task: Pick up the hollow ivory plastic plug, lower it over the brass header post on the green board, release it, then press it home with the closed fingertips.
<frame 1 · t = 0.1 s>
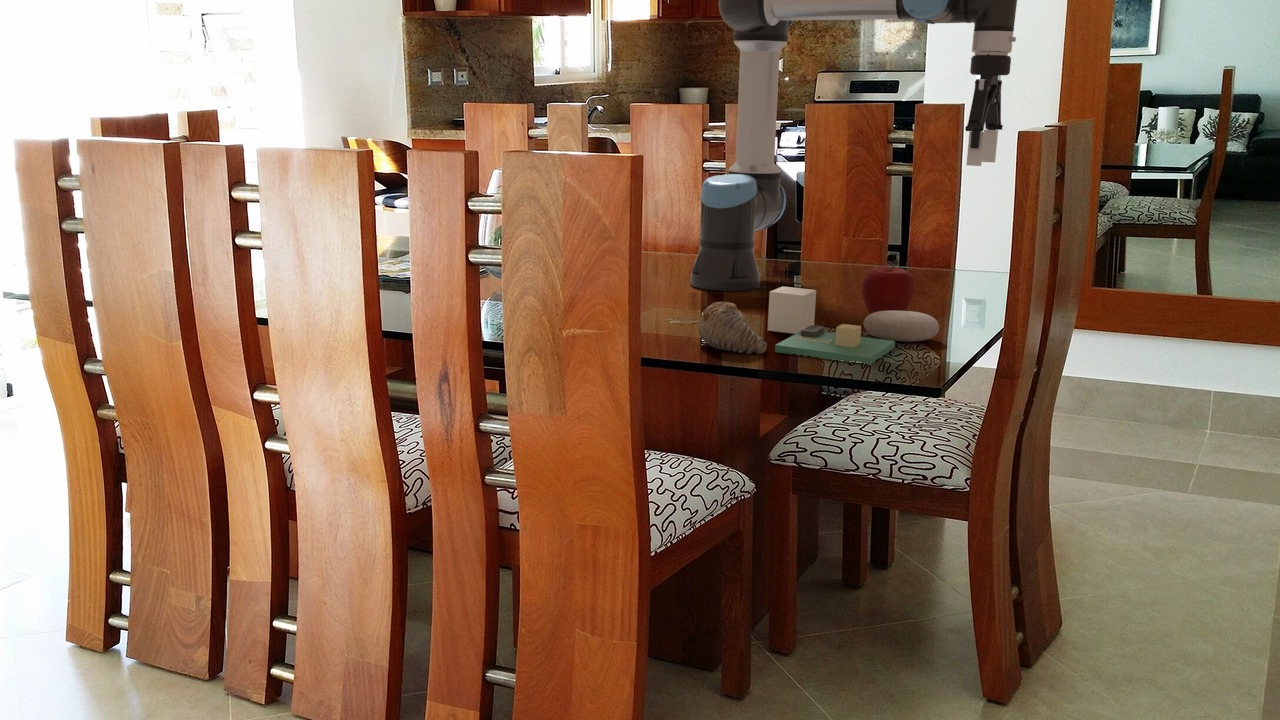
hand: (981, 164, 223), 28 cm above the table, fingers open, 13 cm apart
seashell: (732, 347, 186), on the table
plug: (790, 329, 199), on the table
apple: (885, 318, 211), on the table
decorative stone: (899, 341, 193), on the table
board: (835, 349, 184), on the table
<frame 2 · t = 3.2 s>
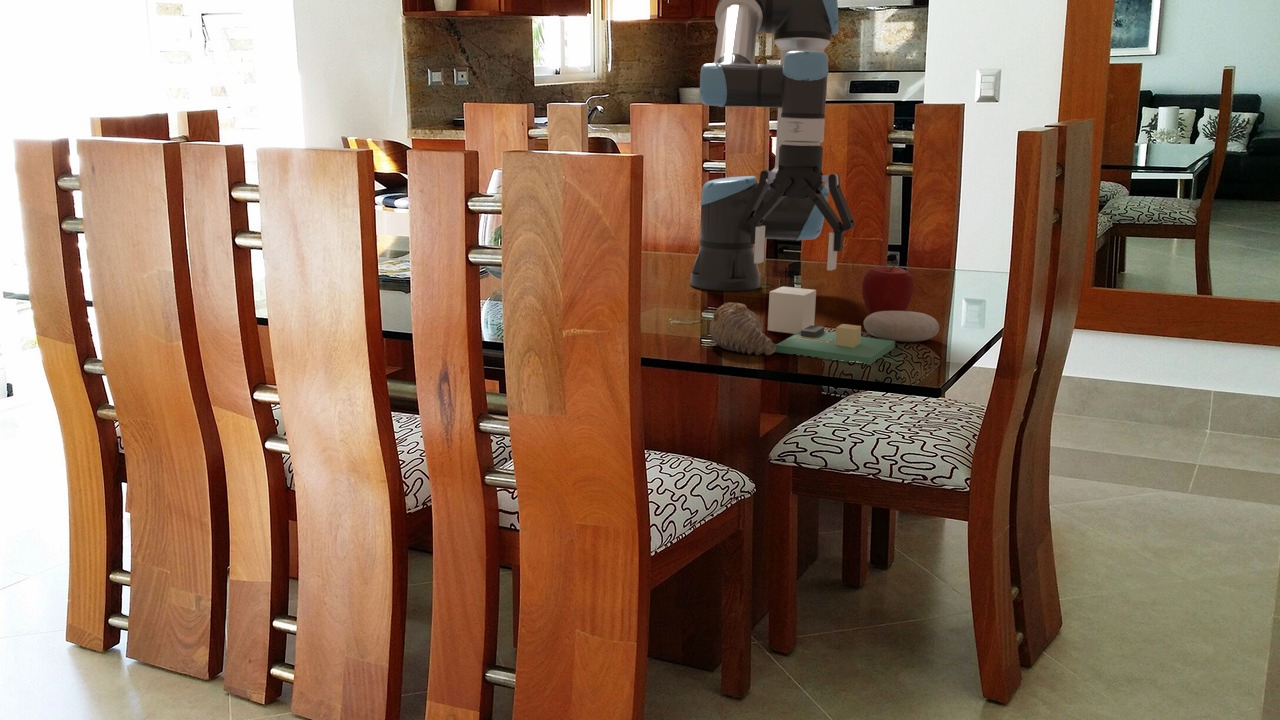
hand: (794, 266, 196), 11 cm above the table, fingers open, 13 cm apart
seashell: (743, 348, 185), on the table
everything else where it was.
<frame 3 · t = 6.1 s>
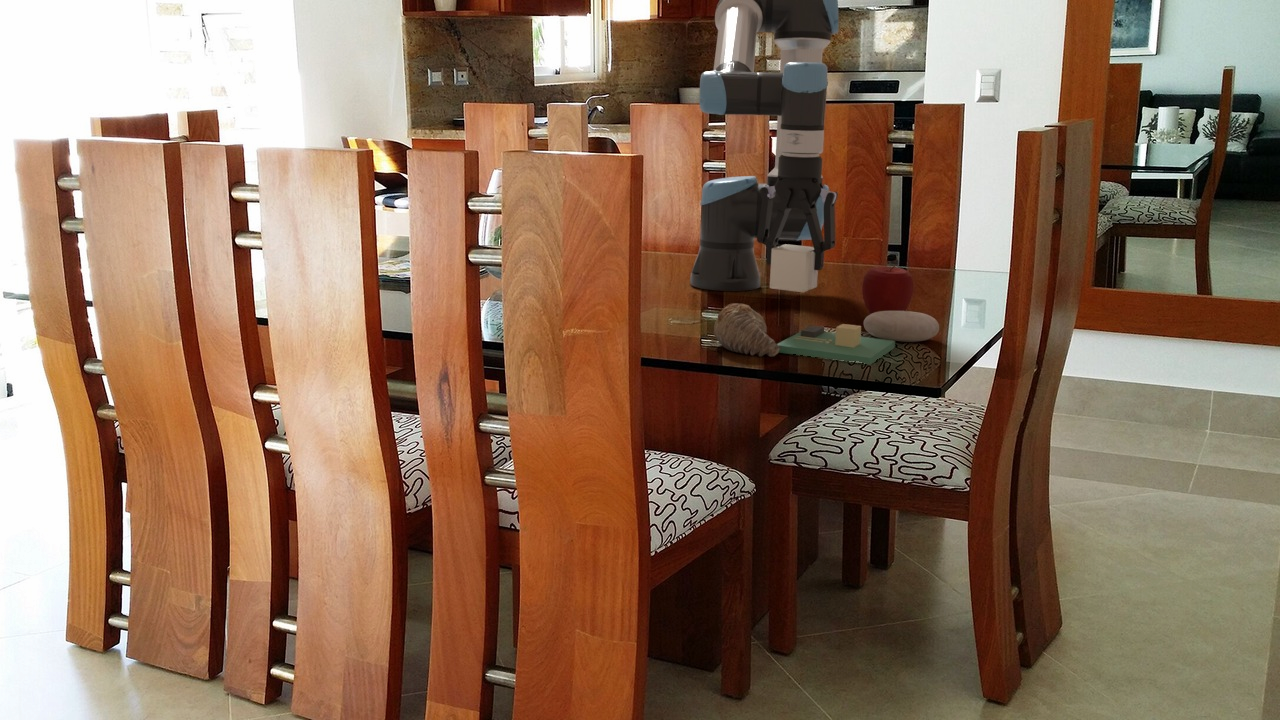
hand: (793, 285, 197), 8 cm above the table, fingers closed on plug, 6 cm apart
seashell: (747, 349, 184), on the table
plug: (793, 287, 198), point 8 cm above the table, touching gripper
everything else where it was.
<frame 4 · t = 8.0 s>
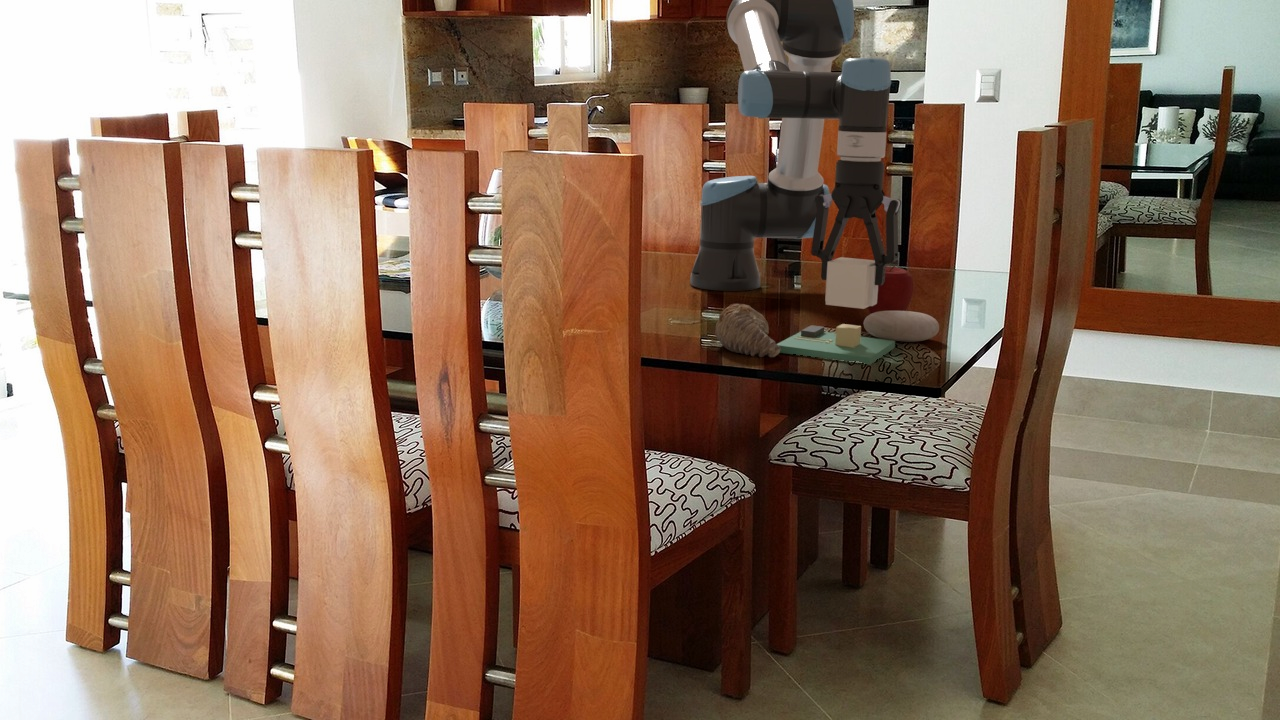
hand: (850, 302, 181), 8 cm above the table, fingers closed on plug, 6 cm apart
plug: (850, 303, 181), point 8 cm above the table, touching gripper
when the fingers open (2 cm above the table, at t = 10.2 s): plug stays where it is, resting on board.
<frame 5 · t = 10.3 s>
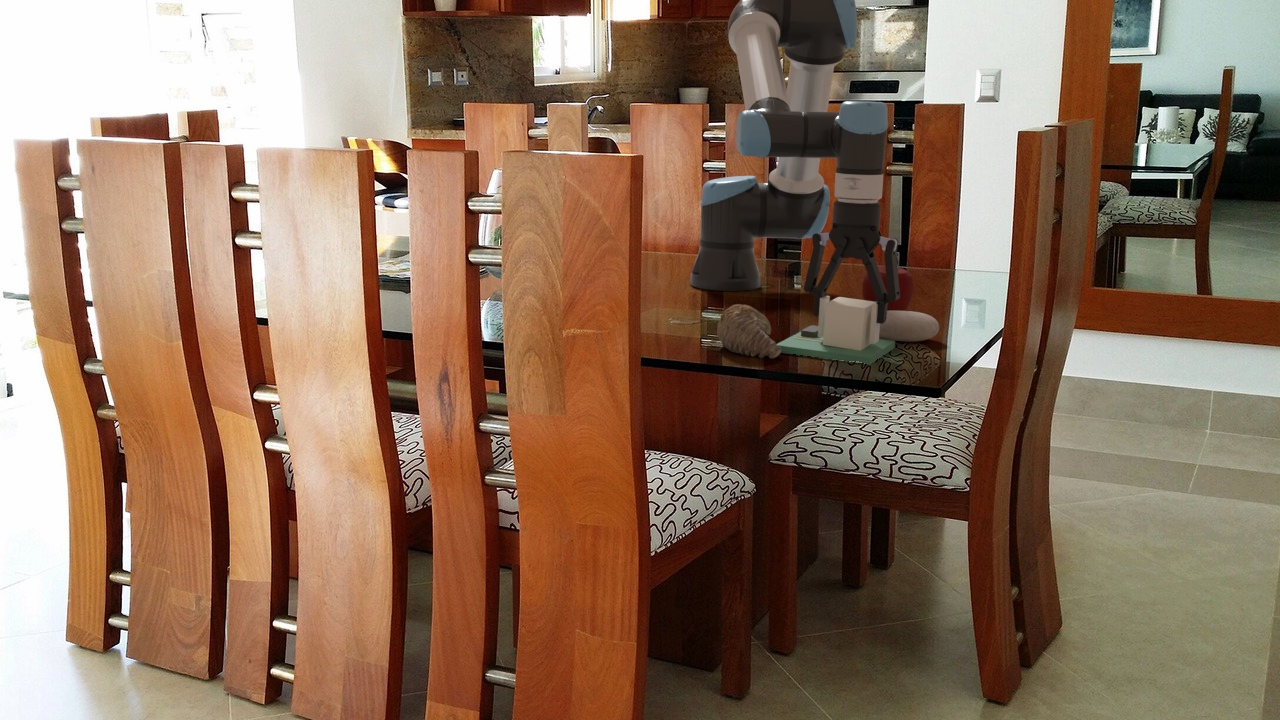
hand: (848, 338, 182), 2 cm above the table, fingers open, 8 cm apart
plug: (847, 343, 183), point 1 cm above the table, touching board
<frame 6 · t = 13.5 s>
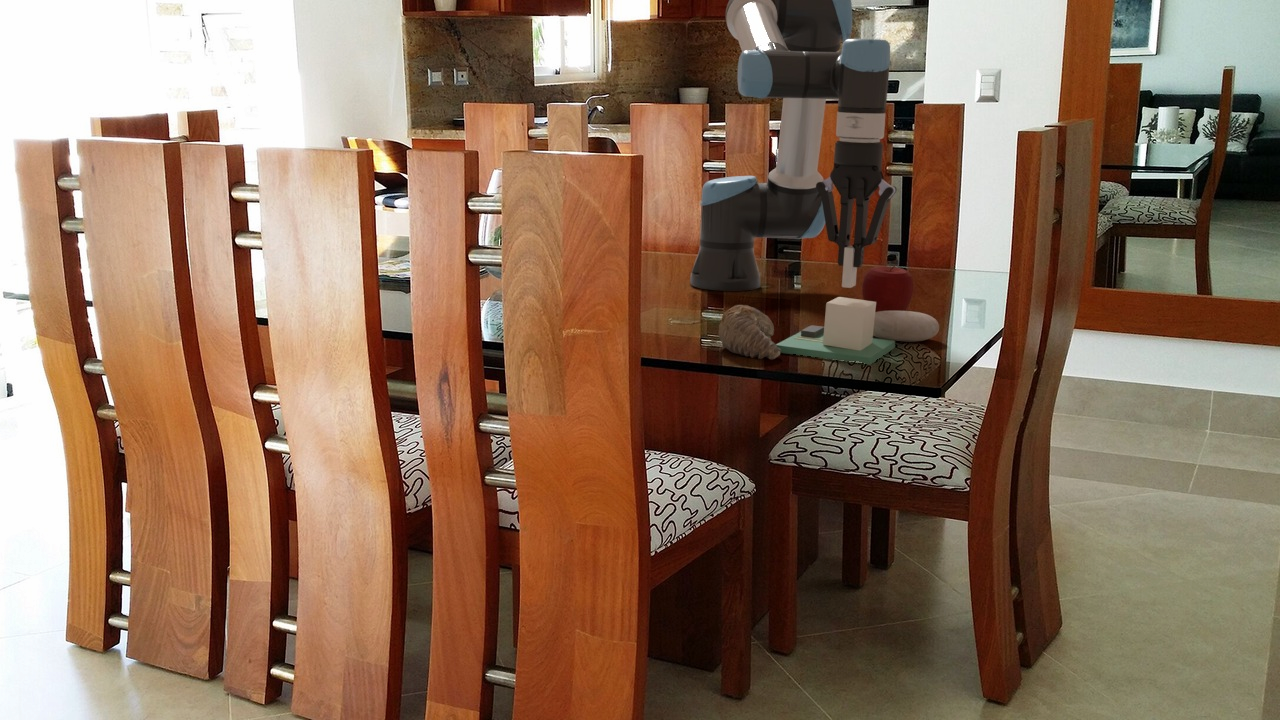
hand: (848, 285, 182), 11 cm above the table, fingers closed
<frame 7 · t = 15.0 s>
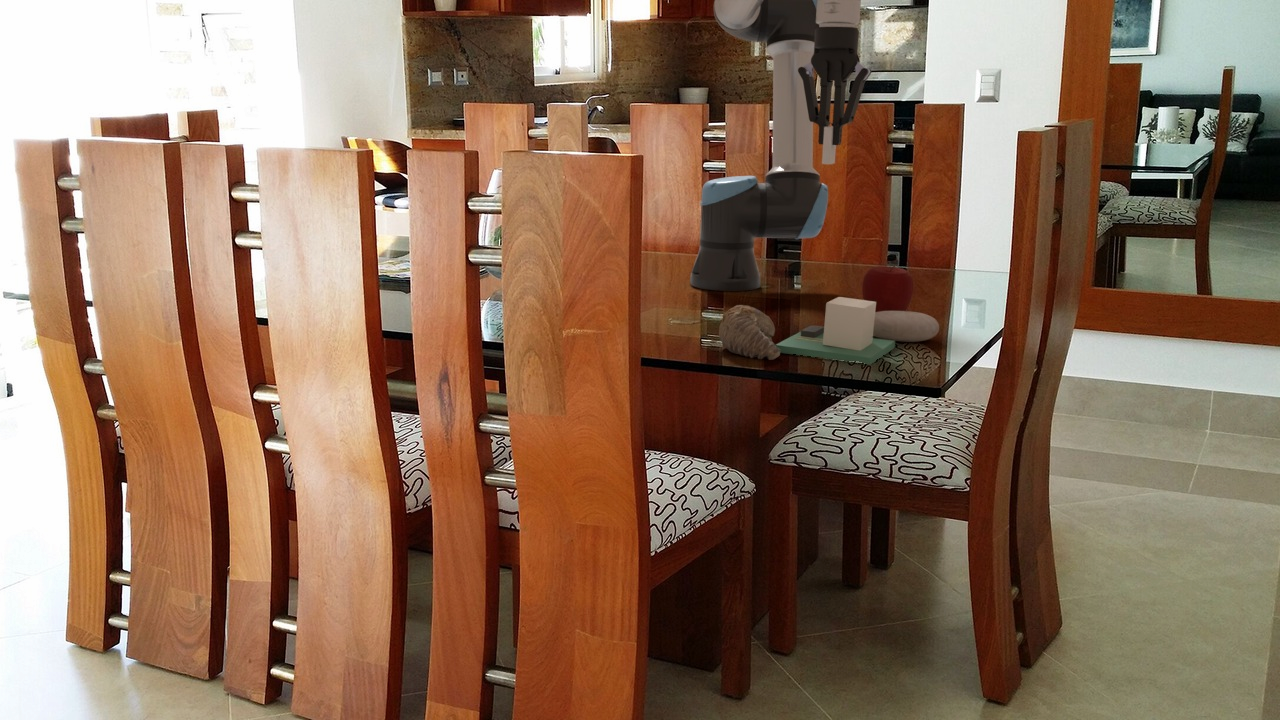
hand: (828, 163, 198), 29 cm above the table, fingers closed
seashell: (752, 351, 183), on the table, touching board
everything else where it was.
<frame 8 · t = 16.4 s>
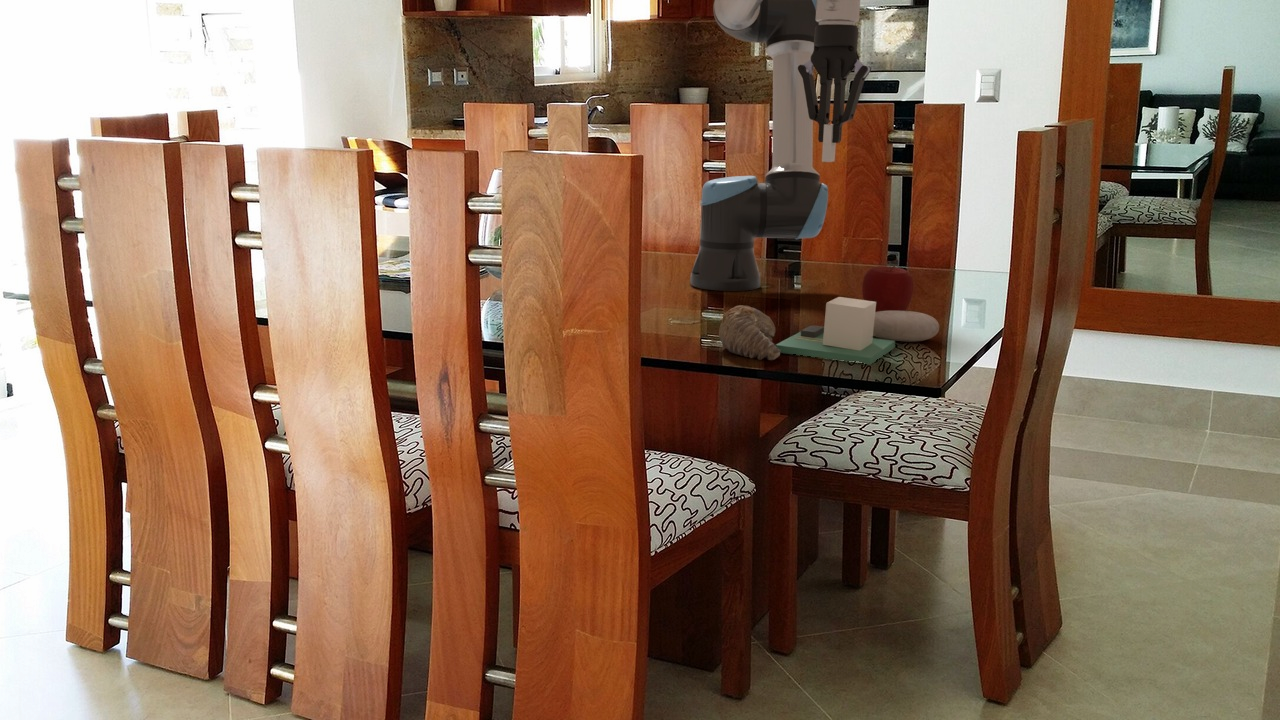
hand: (828, 161, 198), 29 cm above the table, fingers closed
seashell: (752, 352, 183), on the table
everything else where it was.
at the end: plug 0.0 cm from the target spot on the board, point 1.3 cm above the board's base; plug tilted 2°; the gripper is holding nothing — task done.
